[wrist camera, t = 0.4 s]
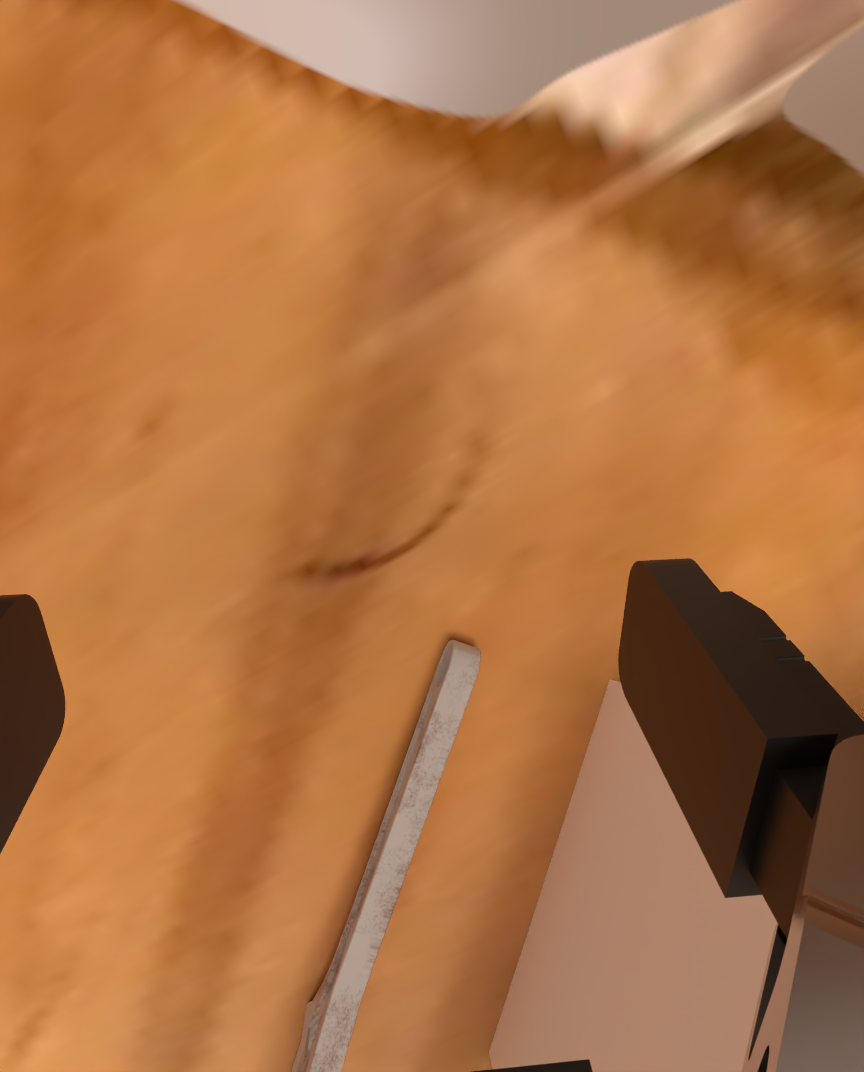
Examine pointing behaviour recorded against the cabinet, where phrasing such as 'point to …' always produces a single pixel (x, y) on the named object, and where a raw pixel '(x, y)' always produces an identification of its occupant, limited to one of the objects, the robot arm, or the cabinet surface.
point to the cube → (633, 930)
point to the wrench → (387, 864)
